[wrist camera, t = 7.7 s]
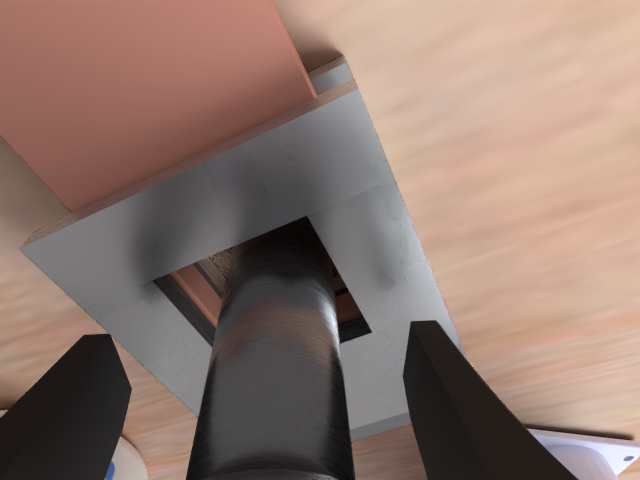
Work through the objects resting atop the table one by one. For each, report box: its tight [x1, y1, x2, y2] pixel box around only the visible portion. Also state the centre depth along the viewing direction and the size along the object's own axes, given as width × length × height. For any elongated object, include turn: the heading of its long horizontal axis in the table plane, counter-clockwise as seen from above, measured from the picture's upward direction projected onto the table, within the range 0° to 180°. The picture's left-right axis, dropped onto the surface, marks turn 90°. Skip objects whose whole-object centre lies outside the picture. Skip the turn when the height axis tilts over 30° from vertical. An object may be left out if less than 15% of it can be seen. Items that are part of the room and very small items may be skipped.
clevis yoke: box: [19, 55, 468, 442], centre depth 15 cm, size 13×9×3 cm
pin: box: [186, 215, 355, 480], centre depth 11 cm, size 4×4×10 cm
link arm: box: [0, 0, 363, 328], centre depth 11 cm, size 18×7×2 cm, turn 25°
